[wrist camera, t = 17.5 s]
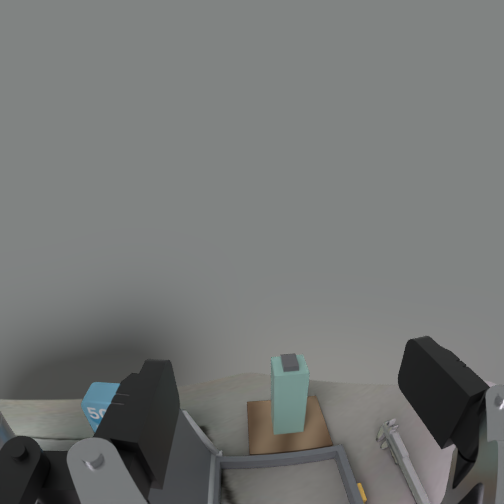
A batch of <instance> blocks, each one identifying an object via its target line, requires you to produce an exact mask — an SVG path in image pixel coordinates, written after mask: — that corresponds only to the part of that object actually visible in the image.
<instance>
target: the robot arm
mask: <svg viewBox="0 0 504 504" xmlns="http://www.w3.org/2000/svg"><path fill="white" fill-rule="evenodd" d="M398 384H399V388H400V390H401V392H402V393H403V394H404V396H405V397H406V399H407V400H408V401H409V403H410V404H411V406H412V407H413V408H414V410H415V411H416V413H417V414H418V416H419V417H420V418H421V420H422V421H423V423H424V424H425V426H426V427H427V429H428V430H429V431H430V433H431V434H432V436H433V437H434V439H435V440H436V442H437V443H438V445H439V446H440V448H441V449H444V448H446V447H448V446H450V445H452V444H455V445H456V448H455V449H454V451H453V455H452V461H451V467H450V473H449V478H448V483H447V488H446V492H445V496H444V498H443V500H442V502H441V504H504V385H495V386H492V387H489V386H488V385H487V384H486V383H485V382H484V381H483V380H482V379H481V378H480V377H478V375H476V374H475V373H474V372H473V371H472V370H471V369H470V368H469V367H466V364H464V363H463V362H462V361H460V359H459V358H458V357H457V356H456V355H454V354H453V353H452V352H451V351H449V350H447V349H445V348H443V347H441V346H440V345H438V344H437V343H436V342H435V341H434V340H433V339H432V338H430V337H429V336H424V337H419V338H415V339H410V340H409V341H408V342H407V344H406V347H405V351H404V355H403V359H402V363H401V367H400V370H399V374H398ZM179 409H180V402H179V394H178V390H177V386H176V382H175V377H174V372H173V368H172V364H171V362H170V360H153V359H147V360H146V361H145V363H144V365H143V367H142V369H141V371H140V373H139V374H137V373H132V374H130V375H129V376H128V377H127V378H125V379H124V380H123V381H122V382H121V383H120V385H119V387H118V389H117V391H116V395H114V397H113V398H112V400H111V404H109V406H108V408H107V410H106V412H105V414H104V416H103V418H102V420H101V422H100V424H99V426H98V428H97V430H96V432H95V434H94V436H93V437H92V438H86V439H83V440H80V441H78V442H76V443H75V444H74V445H73V446H72V447H71V448H70V449H69V451H43V450H42V449H41V448H40V446H39V445H38V443H37V442H36V441H35V440H34V439H32V438H30V437H27V436H17V437H16V435H15V434H14V432H13V431H12V429H11V428H10V426H9V425H8V423H7V421H6V420H5V418H4V417H3V415H2V413H1V412H0V504H151V503H150V501H149V500H148V496H149V492H150V488H153V489H161V490H163V485H164V480H165V475H166V470H167V465H168V460H169V456H170V451H171V447H172V442H173V437H174V433H175V428H176V424H177V420H178V415H179Z"/></svg>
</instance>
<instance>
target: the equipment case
mask: <svg viewBox="0 0 504 504" xmlns="http://www.w3.org/2000/svg"><path fill="white" fill-rule="evenodd" d="M207 448H208V449H209V450H210V451H211V452H210V451H209V450H208V449H207ZM333 458H335V459H336V462H337V465H338V468H339V471H340V475H341V478H342V481H343V484H344V487H345V490H346V493H347V496H348V499H349V502H350V504H364V503H365V502H366V500H367V498H366V496H365V493H364V490H363V488H362V485H361V483H358V484H357V483H356V480H355V477H354V475H353V472H352V469H351V467H350V464H349V461H348V458H347V456H346V453H345V450H344V448H343V445H342V444H341V445H336V446H331V447H325V448H319V449H313V450H306V451H299V452H290V453H281V454H269V455H253V456H223V452H222V451H219V450H218V449H217V448H216V447H215V445H214V444H213V443H212V442H211V441H210V440H209V438H208V437H207V436H206V435H205V434H204V432H203V431H202V430H201V429H200V428H199V426H198V425H197V424H196V423H195V421H194V420H193V419H192V417H191V416H190V415H189V414H188V412H187V411H186V410H181V409H179V415H178V420H177V424H176V428H175V433H174V437H173V442H172V447H171V451H170V456H169V460H168V465H167V470H166V475H165V480H164V485H163V490H161V489H153V488H150V492H149V496H148V500H149V501H150V503H151V504H220V495H221V469H239V468H262V467H275V466H285V465H294V464H302V463H309V462H316V461H322V460H327V459H333Z"/></svg>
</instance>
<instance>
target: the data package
mask: <svg viewBox="0 0 504 504" xmlns="http://www.w3.org/2000/svg"><path fill="white" fill-rule="evenodd" d="M119 385H120V384H117V383H103V382H95V383H92V384H91V386H90V388H89V390H88V392H87V393H86V395H85V397H84V399H83V401H82V403H81V406H82V409H83V411H84V413H85V415H86V417H87V419H88V421H89V423H90V425H91V427H92V429H93V431H94V432H96V430H97V428H98V426H99V424H100V422H101V420H102V418H103V416H104V414H105V412H106V410H107V408H108V406H109V404H111V400H112V398H113V397H114V395H116V391H117V389H118V387H119Z"/></svg>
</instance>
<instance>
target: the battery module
mask: <svg viewBox="0 0 504 504" xmlns="http://www.w3.org/2000/svg"><path fill="white" fill-rule="evenodd" d="M308 384H309V370H308V367H307V365H306V362H305V359H304V357H303V355H295V354H284V355H281V357H271V419H272V426H273V433H274V435H276V434H287V433H296V432H303V430H304V422H305V413H306V404H307V395H308Z"/></svg>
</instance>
